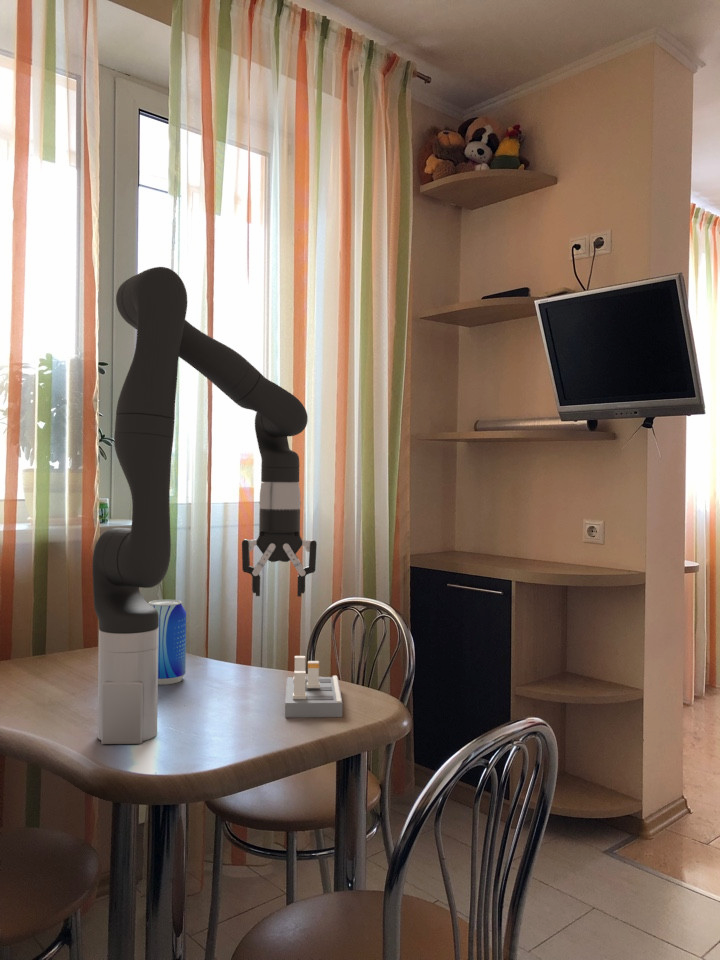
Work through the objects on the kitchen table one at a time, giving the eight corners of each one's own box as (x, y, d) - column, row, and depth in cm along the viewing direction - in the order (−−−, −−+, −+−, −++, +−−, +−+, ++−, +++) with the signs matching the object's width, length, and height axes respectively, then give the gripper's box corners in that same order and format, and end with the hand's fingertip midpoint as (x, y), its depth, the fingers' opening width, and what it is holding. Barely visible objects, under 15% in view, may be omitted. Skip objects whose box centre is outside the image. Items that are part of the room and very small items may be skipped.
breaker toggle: (319, 687, 149) (320, 663, 149) (306, 688, 149) (307, 663, 149) (319, 685, 151) (319, 660, 151) (306, 685, 151) (306, 660, 151)
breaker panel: (342, 716, 141) (342, 675, 141) (284, 717, 141) (285, 676, 141) (337, 689, 159) (338, 653, 159) (286, 690, 159) (287, 653, 158)
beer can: (179, 686, 160) (180, 605, 160) (137, 685, 161) (138, 604, 160) (189, 675, 169) (190, 599, 169) (149, 674, 169) (150, 598, 169)
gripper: (239, 507, 145) (238, 599, 145) (319, 507, 146) (318, 599, 146) (242, 505, 153) (241, 593, 153) (318, 506, 154) (317, 593, 154)
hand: (278, 595), depth 149 cm, fingers open, 7 cm apart
